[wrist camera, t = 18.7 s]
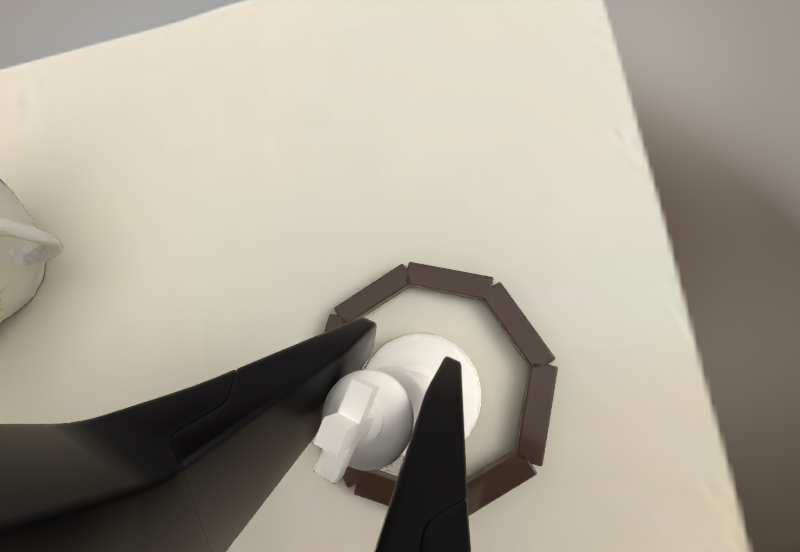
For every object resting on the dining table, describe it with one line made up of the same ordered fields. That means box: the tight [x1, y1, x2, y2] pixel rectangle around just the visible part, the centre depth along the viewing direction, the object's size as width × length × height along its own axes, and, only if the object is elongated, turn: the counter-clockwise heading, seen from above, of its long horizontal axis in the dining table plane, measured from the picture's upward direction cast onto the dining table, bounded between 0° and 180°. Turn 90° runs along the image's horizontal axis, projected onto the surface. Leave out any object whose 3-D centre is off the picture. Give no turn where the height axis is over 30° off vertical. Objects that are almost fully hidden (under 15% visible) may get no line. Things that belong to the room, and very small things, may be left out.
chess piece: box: [313, 333, 481, 484], centre depth 11 cm, size 5×5×10 cm
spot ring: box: [325, 262, 558, 516], centre depth 16 cm, size 10×10×1 cm
